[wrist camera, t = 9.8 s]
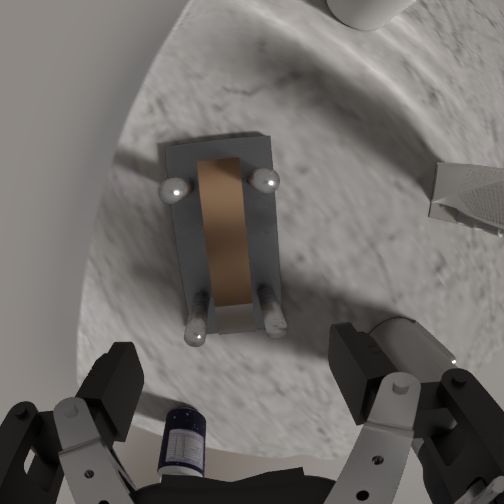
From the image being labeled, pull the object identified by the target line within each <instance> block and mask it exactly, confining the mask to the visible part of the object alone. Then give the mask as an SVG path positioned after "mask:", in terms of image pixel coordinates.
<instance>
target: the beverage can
mask: <svg viewBox="0 0 504 504" xmlns="http://www.w3.org/2000/svg"><path fill="white" fill-rule="evenodd" d="M205 437H206V420H205V418H204V416H203V415H202V414H200V413H199V412H197V411H196V410H194V409H192V408H187V407H181V408H177V409H174V410H172V411H170V412H169V413H168V414H167V418H166V423H165V429H164V434H163V440H162V446H161V452H160V457H159V463H158V470H157V472H158V475H159V477H160V479H159V480H160V482H161V478H162V474H169V475H194V476H199V477H204V466H205V464H204V463H205Z"/></svg>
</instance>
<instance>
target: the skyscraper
mask: <svg viewBox="0 0 504 504" xmlns="http://www.w3.org/2000/svg"><path fill="white" fill-rule="evenodd" d="M429 217H430V218H435V219H439V220H443V221H447V222H452V223H456V224H460V225H465V226H467V227H470V228H473V229H476V230H482V231H485V232H488V233H490V234H493V235H496V236H498V237H502V236H503V235H504V169H502V168H496V167H489V166H481V165H472V164H459V163H442V162H436V171H435V179H434V187H433V193H432V200H431V206H430V212H429Z"/></svg>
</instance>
